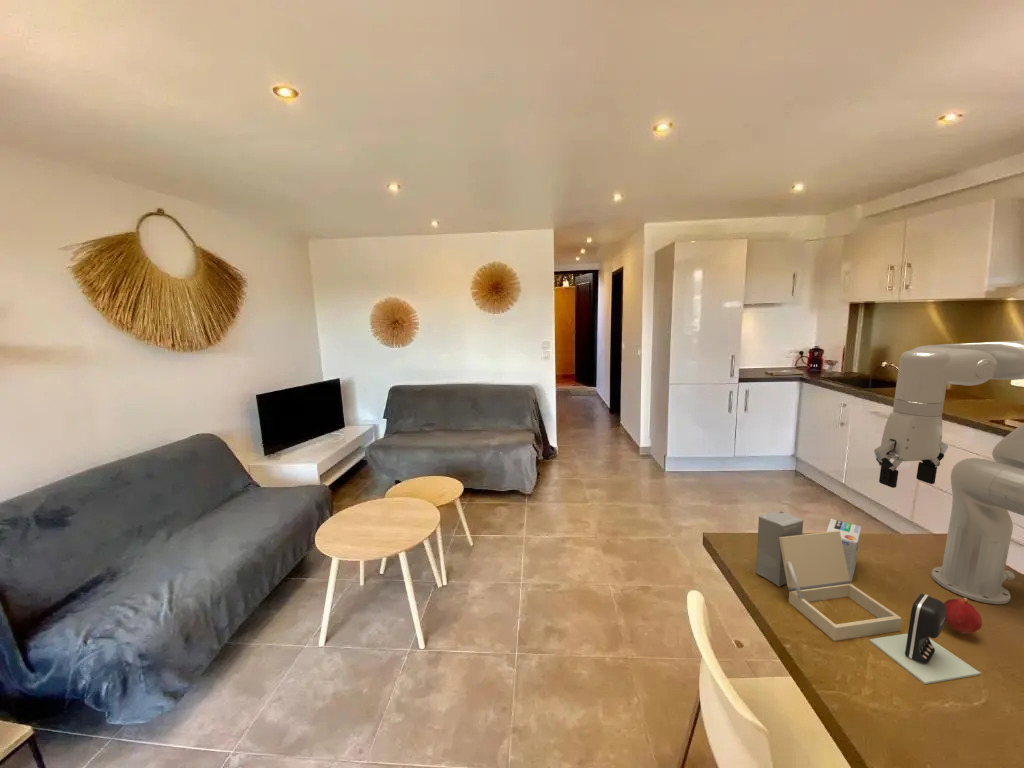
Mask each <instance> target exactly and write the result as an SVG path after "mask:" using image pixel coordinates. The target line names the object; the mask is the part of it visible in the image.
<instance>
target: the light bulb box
mask: <svg viewBox="0 0 1024 768" xmlns="http://www.w3.org/2000/svg"><path fill="white" fill-rule="evenodd" d="M832 531H840V535H841V539H842V544H843V549H844V554H845V559H846V564H847V569H848V574H849V578H850V582H853V578H854V574H855V571H856V570H855V569H856V566H857V560H858V559H857V558H858V552H859V544H860V537H861V531H862V526H860V525H857V524H853V523H848V522H845V521H840V520H837V519H834V518H829V520H828V525H827V528H826V530H825V532H832Z"/></svg>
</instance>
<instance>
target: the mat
mask: <svg viewBox="0 0 1024 768" xmlns="http://www.w3.org/2000/svg"><path fill="white" fill-rule="evenodd" d="M907 636H908V632H907V633H902V634H901V633H900V634H894V635H887V636H883V637H875V638H870V639H868V641H869V642H870V643H871V645H872V644H873V646H874V647H876V648H877V649H879V650H880V651H881V652H882V653H884V654H885V655H886V656H887V657H889V658H890V659H891V660H893V661H894V662H895V663H897V664H898V665H899V666H900V667H902V668H903V670H905V671H907V672H908V673H909V674H911V675H912V676H913V677H914V678H916V679H917V680H918V681H920V682H921V684H924V685H930V684H936V683H941V682H947V681H948V682H949V681H953V680H958V679H963V678H970V677H977V676H980V675H981V674H982V673H981V672H980V671H979V670H978V669H975V668H974V667H973V666H972V665H970V664H968V663H967V662H966V661H964V660H963V659H961V658H959V656H956V655H955V654H953V653H952V652H950V651H949V650H948V649H946V648H945V647H943V646H942V645H940V644H938V643H937V642H935V640H934V639H932V638H930V637H929V639H930V642H931V644H932V646H933V647H934V648H935V652H934V654H933V656H932V657H931V659H930V661H929V662H928V663H927V664H924V663H921V662H918V661H916V660H914V659H911V658H909V657H908V656H906V655H905V650H906V643H907Z"/></svg>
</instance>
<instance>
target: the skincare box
mask: <svg viewBox="0 0 1024 768" xmlns="http://www.w3.org/2000/svg"><path fill="white" fill-rule="evenodd" d="M757 524H758V527H757V543H756V544H757V545H756V548H757V549H756V563H755V565H756V567H755V574H757V575H759V576H761V577H762V578H764V579H766V580H768V581H769V582H771V583H772V584H774V585H776V586H777V587H782V586H783V585H787V580H786V574H785V569H784V563H783V558H782V552H781V547H780V541H779V537H786V536H795V535H803V532H804V531H803V529H804V519H801V518H799V517H797V516H794V515H791V514H789V513H788V512H784V511H781V510H777V511H773V512H771V511H770V512H767V513H766V514H762V515H759V516H758V523H757Z"/></svg>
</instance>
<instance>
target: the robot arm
mask: <svg viewBox="0 0 1024 768" xmlns="http://www.w3.org/2000/svg"><path fill="white" fill-rule="evenodd" d="M990 380H994V381H995V380H998V381H999V380H1000V381H1003V380H1004V381H1017V380H1018V381H1019V380H1024V340H1023V339H1020V340H1006V341H986V342H985V341H984V342H969V343H967V342H966V343H943V344H930V345H929V344H928V345H921V346H917V347H914V348H913V349H911V350H907V351H904V352H903V353H902V354H901V355H900V357H899V364H898V371H897V377H896V383H895V385H896V386H895V392H894V393H895V394H894V400H893V408H892V412H890V413H889V415H888V418H887V420H886V422H885V426H884V429H883V433H882V437H881V443H880V446H878V447H876V448H874V449H873V450H874V451H873V452H874V455H875V458H876V459H875V460H876V462H877V463H878V467H880V469H879V470H880V471H879V478H878V479H879V480H878V482H879V483H880V484H882V485H884V486H887V487H889V488H893V489H894V488H897V485H898V477H899V470H898V468H899V466H900V465H901V464H902V463H903V462H916V461H917V462H918V464H917V470H916V480H919V481H921V482H924V483H926V484H930V485H934V484H935V483H936V477H937V470H938V467H940V465H941V460H943V459H944V457H945V454H946V452H947V451H948V448H949V445H947V443H945V442H943V441H942V440H943V439H942V438H943V412H944V404H945V397H946V393H947V391H946V390H947V386H948V385H955V386H956V385H959V386H966V387H967V386H970V387H971V386H977V385H982V384H985V383H986V382H988V381H990ZM991 455H992V458H993V460H990V459H985V458H979V457H977V458H975V457H973V458H964V459H962V460H960V461H958V462H956V464H955V465H954V466H953V468H952V469H951V474H950V484H951V492H952V494H951V495H952V503H951V504H952V505H951V512H950V516H949V517H950V519H949V523H948V524H949V525H948V529H947V535H946V542H945V548H944V552H943V553H944V554H943V560H942V565H941V566H937V567H934V568H933V569H932V570H931V578H932V579H933V580H934V581H935V582H936V583H937V584H938V585H940V586H941V587H943V588H944V589H946V590H948V591H950V592H952V593H954V594H956V595H958V596H962V598H967V599H969V600H973V601H976V602H980V603H984V604H991V605H1004V604H1008V603H1009V602H1010V601H1011V593H1010V592H1009V590H1008V589H1007V588H1005V587H1004V586H1003V582H1005V581H1009V580H1014V579H1015V578H1016V575H1015V573H1013V571H1010V570H1006V564H1007V559H1008V556H1009V555H1008V554H1009V549H1010V544H1011V539H1012V534H1013V528H1014V524H1013V519H1012V516H1011V515H1010V513H1009V512H1012V513H1013V514H1014V513H1015V514H1017V515H1020V516H1022V517H1024V422H1023V423H1021V424H1020V425H1018V426H1017V427H1015V429H1013V430H1012V431H1011V432H1010V433H1008V434H1007V435H1006V436H1005V437H1003V438H1002V439H1001V440H999V442H997V443H996V445H995V446H994V448H993V449H992V452H991ZM891 460H893V462H891Z"/></svg>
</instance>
